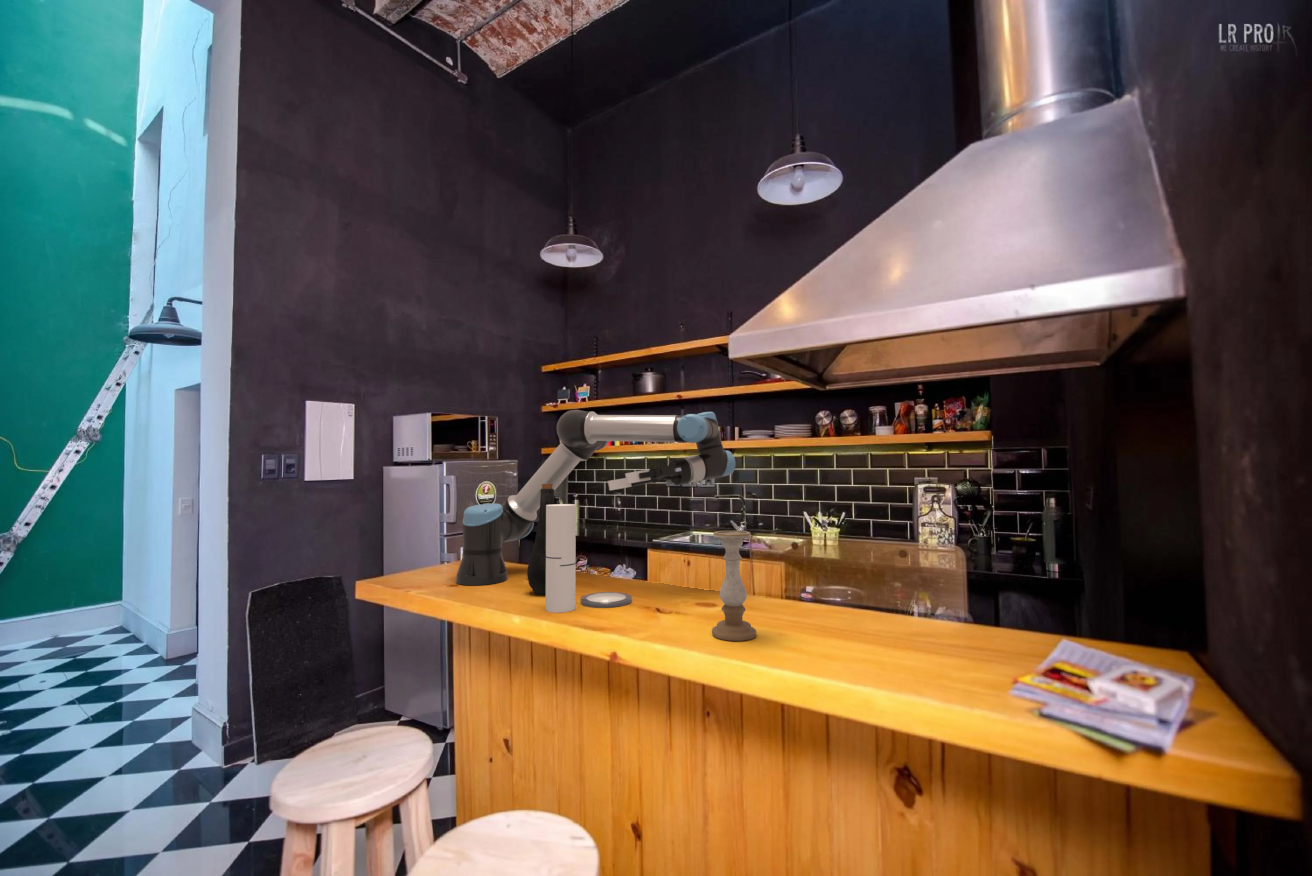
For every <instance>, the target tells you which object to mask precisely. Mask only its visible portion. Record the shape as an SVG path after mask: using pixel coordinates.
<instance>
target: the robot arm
mask: <svg viewBox="0 0 1312 876" xmlns="http://www.w3.org/2000/svg"><path fill="white" fill-rule="evenodd" d="M556 433H557V436H558V439H559V445H558V446H557V447H556V448H555V449H554V450H553V452H552V453H551V454H550V455H549V456H548V457H547V459H545V461H544V462H543V464H542V465H541V466H540V467H539V468H538V469H537V470H536V472H535V473H534V474H533V475H532V476H531V477H530V479H529V480H528V481H527V482H526V484H524V486H523V487H522V488H521V489H520V490H519V492H518V493H517V494H513V495H512V494H511V495H510V496H508V497H507V499H506V500H505V501H504V502H503V504H500V503H482V504H475V505H472V506H468V507H466V508H465V509H464V511H463V518H462V557H461V561H460V564H459V566H458V570H457V571H456V572H457V573H456V576H455V582H456V584H458V585H462V586H463V585H464V586H483V585H492V584H499V583H502V582H505V581H507V580H508V569H507V566H506V563H505V560H504V557H503V550H502V549H503V543H508V542H515V541H519V540H521V539H523V538H525V537H527V536H528V535H529V534H530V533H531V532H532V530H533V529H534V525H535V523H534V522H535V521H536V519H537V517H538V513H537V511H538V510H540V497H541V492H540V490H541V489H542V484H553V486H552V489H554V492H555V491H556V489H557V488H558V487H559V486H560V485H561V484H562V482H564V480H565V479H566V478H567V476H568V475H570V474H571V472H572V471H573V470H574V469H575V467H576V466H577V465H579V463H580V462H584V461H588V460H589V459H590V458H591V456H592V455H593V454H594V453H595V452H596V451H600V450H602V449H604V448H605V447H607V445H608V444H609V442H641V443H642V442H646V443H647V442H650V443H655V442H656V443H684V444H685V443H689V444H690V443H693V444H695V445H696V449H697V453H698V454H694V455H688V456H684V457H678V458H672V459H671V460H670V461H669V463H668V465H665V466H656V467H654V465H651V466H648V467H649V469H644V470H638V471H632V472H626V473H624V475H625V477H624V478H618V479H611V480H607V484H608V490H609V491H615V490H621V489H625V488H629V489H630V490H634V487H637V486H642V485H646V484H651V483H652V484H656V483H660V482H661V483H663V482H664V483H665V482H668V481H671V483H672V484H674V485H675V486H680V485H686V484H688V483H689V484H691V483H695V484H697V485H698V484H699V483H700V482H702V481H706V480H707V481H708V480H714V479H719V478H723V477H726V476H730V475H732V474H733V473H734V471H735V470H736V458H735V456H734V455H733V453H732V452H731V451H730V450H725V449H724V446H723V443H722V437H721V433H720V428H719V422H718V420H717V416H716V414H715V412H713V411H705V412H701V413H700V412H699V413H697V414H696V413H687V414H685V415H681V414H680V415H677V414H669V415H667V414H665V415H664V414H663V415H662V414H661V415H660V414H659V415H658V414H657V415H656V414H655V415H654V414H637V415H636V414H598V413H596V412H595V411H585V410H580V409H570V410H567V411H566V412H564V413H563V414H562V415H561V416H560V418H559V419H558V420H557V423H556Z"/></svg>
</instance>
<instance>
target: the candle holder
mask: <svg viewBox="0 0 1312 876" xmlns="http://www.w3.org/2000/svg"><path fill="white" fill-rule="evenodd" d="M712 536H713V538H714V539H720V540H721V546H723V547H724V549H725V550H724V551H725V553H724V555H723V558H722V560H724V561H725V575H724V579H723V582H722V584H721V586H720V589H719V597H720V599H721V602H722V604H723V605H722V606H721V611H722V612H723V615H724V619H723V620H720V621H718V622H717V623H716V625H715V626H713V627H712V629H711V634H712V636H713V637H714V638H716V639H719V640H724V641H731V642H734V641H735V642H742V641H743V642H744V641H750V640H752V639H753V640H754V638H756V636H757V629H756V628H755V627H753V626H752V625H751V623H749V622H748V621H746V620H743V615H744V613H745V612H746V610H747V608H746V607H745V606H744V605H743V604H744V603H745V602H746V600H747V597H748V596H747V595H748V594H747V593H748V592H747V590H746V586H745V584H744V583H743V579H742V576H741V571H740V568H741V567H740V562H741V560H743V557H742V556H741V554H740V548H741V547H742V546H743V544H744V543H743V540H747V539H750V538H751V537H752V534H751V532H750V531H746V530H717V531H714V532H713V534H712Z"/></svg>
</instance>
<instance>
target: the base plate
mask: <svg viewBox="0 0 1312 876" xmlns="http://www.w3.org/2000/svg"><path fill="white" fill-rule="evenodd" d="M632 602H633V596H632V595H630V594H629V593H626V592H625V593H624V592H617V591H604V592H601V591H600V592H593V593H589V594H585V595H583V596H581V597H580V604H581V605H582V606H584V607H588V608H595V609H596V608H597V609H609V608H619V607H623V606H624V607H625V606H628V605H629V604H631V603H632Z"/></svg>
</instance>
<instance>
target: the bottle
mask: <svg viewBox="0 0 1312 876" xmlns="http://www.w3.org/2000/svg"><path fill="white" fill-rule="evenodd" d="M552 486H553V484H542V489H541V490H540V492H541V497H540V508H539V512H538V513H539V514H538V519H537V521H538V522H537V527H536V528H537V530H536V535H535V540H534V543H533V548H532V551H531V553H530V556H529V560H528V564H527V571H526V577H527V581H528V585H529V587H530V588H531V590H532V591H533V595H535V596H542V597H543V596H545V597H546V505H554V504H555V493H554V492H555V491H554V489H552Z"/></svg>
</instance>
